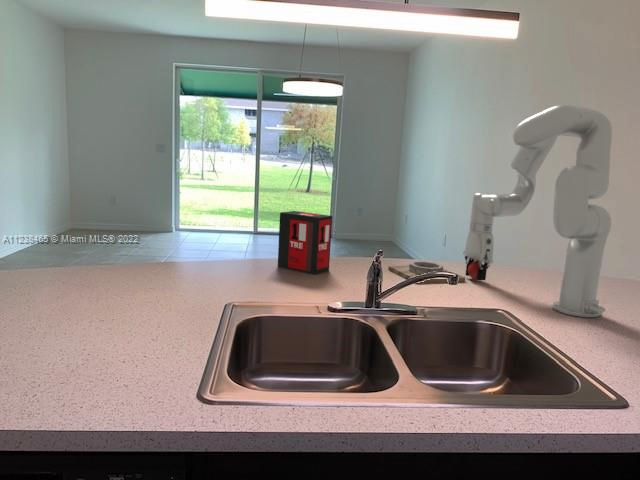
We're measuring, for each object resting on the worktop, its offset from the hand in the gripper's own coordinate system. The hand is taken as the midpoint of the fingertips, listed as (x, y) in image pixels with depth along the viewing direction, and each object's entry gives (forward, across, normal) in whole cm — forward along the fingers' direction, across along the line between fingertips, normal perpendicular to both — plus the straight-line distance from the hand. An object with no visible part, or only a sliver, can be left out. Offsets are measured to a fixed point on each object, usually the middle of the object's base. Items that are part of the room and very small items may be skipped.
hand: (475, 277), depth 180 cm
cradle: (+1, +9, +15) cm, 18 cm away
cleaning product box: (+1, +24, +57) cm, 62 cm away
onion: (+1, 0, 0) cm, 1 cm away
